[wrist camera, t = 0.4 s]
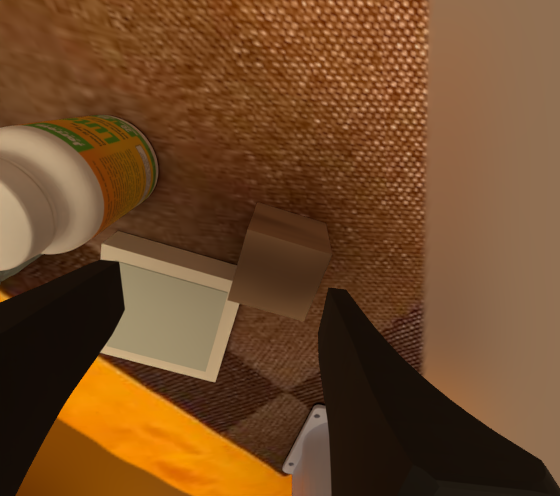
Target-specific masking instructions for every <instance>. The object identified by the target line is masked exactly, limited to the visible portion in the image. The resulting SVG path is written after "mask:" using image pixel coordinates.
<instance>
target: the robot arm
mask: <svg viewBox="0 0 560 496" xmlns="http://www.w3.org/2000/svg"><path fill="white" fill-rule="evenodd" d="M124 311H125V304H124V296H123V288H122V280H121V272H120V264H119V262H117V261H109V260H99V261H96V262H93V263H91V264H88V265H86V266H84V267H81V268H79V269H77V270H75V271H72V272H70V273H68V274H66V275H63V276H61V277H59V278H57V279H55V280H52V281H50V282H48V283H46V284H43V285H41V286H39V287H37V288H34V289H32V290H29V291H27V292H24V293H22V294H20V295H17V296H15V297H12V298H10V299H8V300H5V301H3V302H0V496H15V495H16V493H17V491H18V489H19V487H20V485H21V483H22V481H23V479H24V477H25V475H26V473H27V471H28V469H29V467H30V466H31V464H32V462H33V460H34V458H35V456H36V454H37V452H38V450H39V448H40V447H41V445H42V443H43V441H44V439H45V437H46V435H47V434H48V432H49V430H50V428H51V427H52V425H53V423H54V421H55V420H56V418H57V416H58V414H59V413H60V411H61V409H62V407H63V406H64V404H65V402H66V401H67V399H68V398H69V396H70V395H71V393H72V392H73V390H74V389H75V387H76V386H77V385H78V383H79V382H80V380H81V379H82V378H83V376H84V375H85V373H86V372H87V370H88V369H89V368H90V366H91V365H92V363H93V362H94V361H95V359H96V358H97V356H98V355H99V353H100V352H101V351H102V349H103V348H104V346H105V345H106V343H107V342H108V340H109V339H110V337H111V336H112V334H113V333H114V331H115V329H116V327H117V325H118V323H119V321H120V319H121V317H122V315H123V313H124ZM318 353H319V365H320V373H321V380H322V387H323V394H324V400H325V406H323V405H315V406H314V407H313V409H312V411H311V412H310V414H309V416H308V418H307V420H306V422H305V424H304V426H303V428H302V430H301V432H300V434H299V436H298V437H297V439H296V441H295V443H294V445H293V447H292V449H291V451H290V453H289V455H288V457H287V459H286V461H285V462H284V464H283V471H284V472H285V473H289V474H292V496H560V488H559V486H558V485H557V483H556V482H555V480H554V479H553V477H552V475H551V474H550V472H549V471H548V469H547V468H546V466H545V465H544V463H543V462H542V461H541V460H540V459H538V458H536V457H535V456H533V455H532V454H530V453H529V452H527V451H525V450H523V449H522V448H521V447H519V446H517V445H516V444H514V443H513V442H511V441H509V440H508V439H506V438H505V437H503V436H501V435H500V434H498V433H497V432H495V431H494V430H492V429H490V428H489V427H487V426H486V425H485V424H483V423H482V422H481V421H479V420H478V419H476V418H475V417H473V416H472V415H471V414H469V413H468V412H466V411H465V410H464V409H462V408H461V407H460V406H458V405H457V404H456V403H454V402H453V401H452V400H450V399H449V398H448V397H447V396H445V395H444V394H443V393H442V392H440V391H439V390H438V389H437V388H435V387H434V386H433V385H432V384H430V383H429V382H428V381H427V380H426V379H425V378H424V377H422V376H421V375H420V374H419V373H418V372H417V371H416V370H415V369H414V368H413V367H412V366H411V365H410V364H408V363H407V362H406V361H405V360H404V359H403V358H402V357H401V356H400V355H399V354H398V353H397V352H396V351H395V349H394V348H393V347H392V346H391V345H390V344H389V343H388V342H387V341H386V340H385V339H384V337H383V336H382V335H381V334H380V333H379V332H378V330H377V329H376V328H375V327H374V326H373V324H372V323H371V322H370V321H369V319H368V318H367V317H366V316H365V314H364V313H363V312H362V310H361V309H360V308H359V306H358V305H357V304H356V302H355V301H354V300H353V298H352V297H351V296H350V294H349V293H348V292H347V290H344V289H336V288H328V292H327V297H326V301H325V306H324V310H323V314H322V319H321V323H320V327H319V332H318Z"/></svg>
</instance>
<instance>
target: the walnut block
mask: <svg viewBox="0 0 560 496" xmlns="http://www.w3.org/2000/svg"><path fill="white" fill-rule="evenodd" d="M331 257H332V250H331V246H330V241H329V236H328V231H327V226H326V223H324V222H321V221H317V220H314V219H311V218H308V217H305V216H301V215H298V214H295V213H292V212H288V211H285V210H282V209H279V208H275V207H272V206H269V205H266V204H263V203H259V202H257V205H256V207H255V210H254V213H253V215H252V218H251V221H250V224H249V226H248V229H247V233H246V236H245V240H244V243H243V247H242V250H241V254H240V257H239V261H238V264H237V268H236V271H235V275H234V278H233V282H232V285H231V289H230V292H229V296H228V299H227V300H228V301H232V302H236V303H239V304H243V305H246V306H250V307H253V308H257V309H260V310H264V311H267V312H271V313H275V314H278V315H282V316H285V317H289V318H292V319H296V320H299V321H303V322H304V320H305V318H306V315H307V313H308V311H309V308H310V306H311V304H312V301H313V299H314V297H315V294H316V292H317V290H318V287H319V285H320V283H321V280H322V278H323V276H324V273H325V271H326V269H327V266H328V264H329V262H330V259H331Z"/></svg>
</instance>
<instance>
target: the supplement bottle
mask: <svg viewBox="0 0 560 496" xmlns="http://www.w3.org/2000/svg"><path fill="white" fill-rule="evenodd" d="M157 179H158V162H157V158H156V155H155V152H154V150H153V148H152V146H151V144H150V143H149V141H148V140H147V138H146V137H145V136H144V135H143V134H142V133H141V132H140V131H139V130H138V129H137V128H136V127H135V126H133V125H132V124H130V123H129V122H127V121H125V120H123V119H120V118H117V117H114V116H109V115H93V116H84V117H76V118H67V119H59V120H52V121H44V122H36V123H29V124H21V125H13V126H7V127H2V128H0V271H3V270H8V269H12V268H14V267H17V266H19V265H21V264H22V263H24V262H26V261H27V260H29V259H31V258H33V257H35V256H36V255H38V254H58V253H64V252H68V251H71V250H73V249H75V248H77V247H79V246H81V245H83V244H84V243H86V242H87V241H89V240H91V239H92V238H94V237H95V236H96V235H97V234H99V233H100V232H101V231H103V230H104V229H105V228H107V227H108V226H110V225H111V224H112V223H114V222H115V221H117V220H118V219H119V218H121V217H122V216H123V215H125V214H126V213H128V212H129V211H130V210H132V209H133V208H135V207H136V206H138V205H139V204H141V203H142V202H143V201H144V200H146V199H147V198H148V197H149V196H150V194H151V193H152V192H153V190H154V188H155V186H156V183H157Z"/></svg>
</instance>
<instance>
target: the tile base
mask: <svg viewBox="0 0 560 496" xmlns="http://www.w3.org/2000/svg"><path fill="white" fill-rule="evenodd" d="M101 260H109V261H117V262H119V264H120V272H121V280H122V288H123V296H124V304H125V311H124V313H123V315H122V317H121V319H120V321H119V323H118V325H117V327H116V329H115V331H114V333H113V334H112V336H111V337H110V339H109V340H108V342H107V343H106V345H105V346H104V348H103V349H102V351H101V352H100V353H104V354H107V355H111V356H115V357H119V358H123V359H127V360H131V361H135V362H138V363H142V364H146V365H150V366H154V367H158V368H162V369H165V370H169V371H173V372H177V373H181V374H185V375H189V376H192V377H196V378H200V379H204V380H208V381H212V382H215V381H216V378H217V375H218V371H219V368H220V365H221V362H222V359H223V355H224V352H225V349H226V346H227V342H228V339H229V336H230V333H231V329H232V326H233V323H234V320H235V316H236V313H237V310H238V307H239V303H236V302H232V301H228V300H227V299H228V296H229V292H230V289H231V285H232V282H233V278H234V275H235V271H236V268H237V265H234V264H230V263H227V262H223V261H220V260H216V259H213V258H210V257H206V256H203V255H199V254H196V253H192V252H189V251H186V250H182V249H179V248H175V247H172V246H168V245H165V244H162V243H158V242H155V241H151V240H148V239H144V238H141V237H138V236H134V235H131V234H127V233H124V232H120V231H117V232H116V233H115V234H113V235H112V236H111V237H109V238H108V239H107V240H106V241H104V242H103V243H102V246H101Z"/></svg>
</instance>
